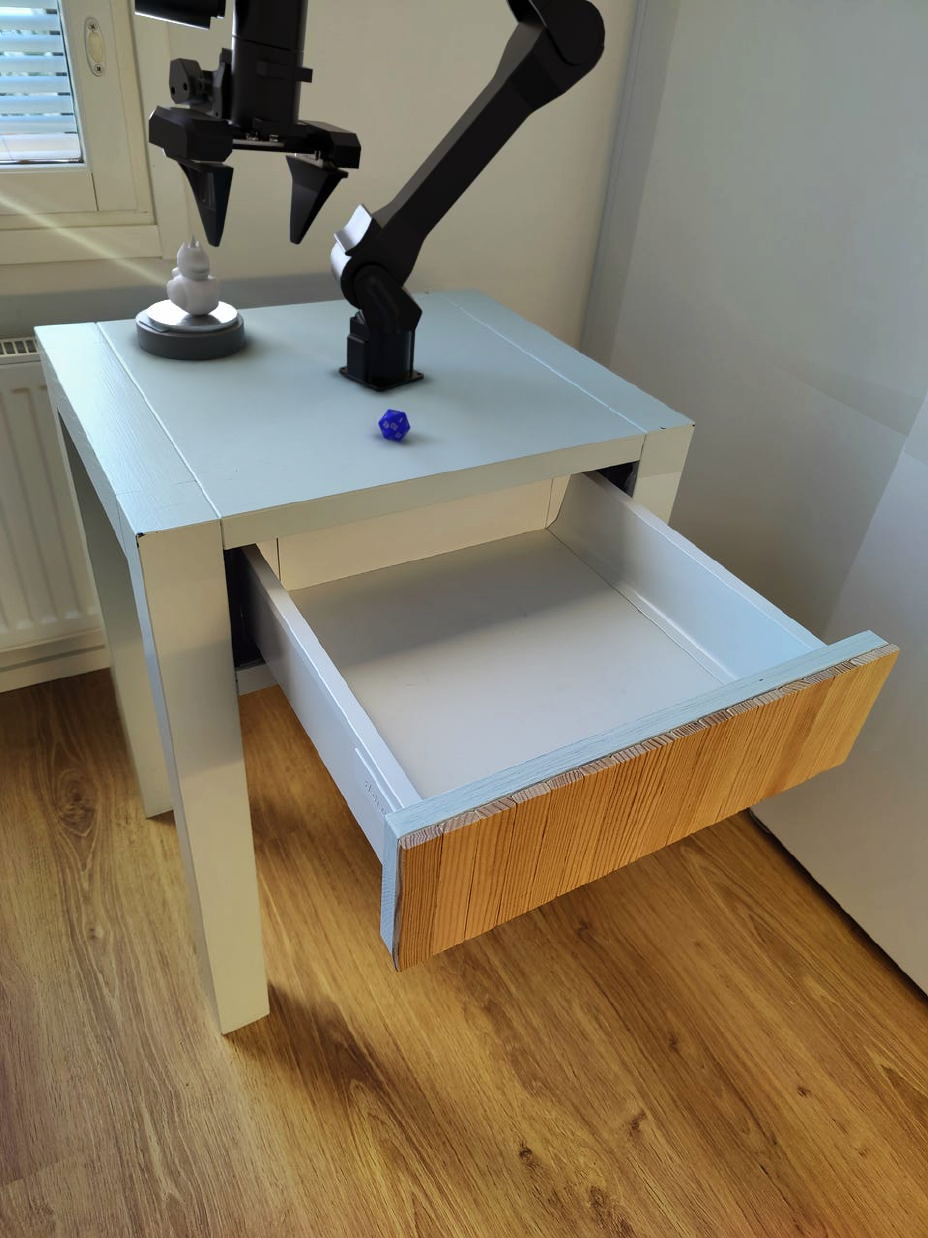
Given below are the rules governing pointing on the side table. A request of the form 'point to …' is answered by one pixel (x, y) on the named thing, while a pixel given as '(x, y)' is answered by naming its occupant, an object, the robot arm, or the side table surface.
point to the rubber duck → (194, 281)
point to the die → (394, 425)
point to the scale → (190, 332)
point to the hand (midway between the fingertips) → (255, 244)
